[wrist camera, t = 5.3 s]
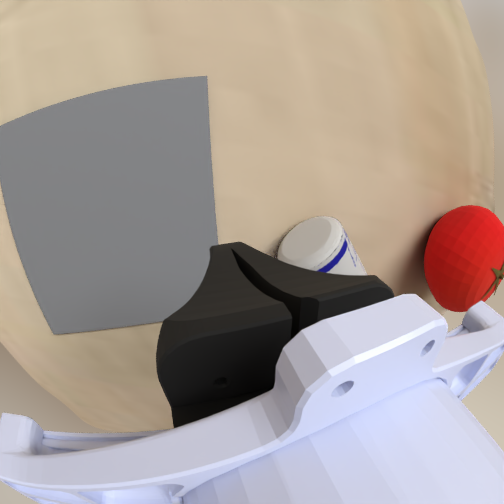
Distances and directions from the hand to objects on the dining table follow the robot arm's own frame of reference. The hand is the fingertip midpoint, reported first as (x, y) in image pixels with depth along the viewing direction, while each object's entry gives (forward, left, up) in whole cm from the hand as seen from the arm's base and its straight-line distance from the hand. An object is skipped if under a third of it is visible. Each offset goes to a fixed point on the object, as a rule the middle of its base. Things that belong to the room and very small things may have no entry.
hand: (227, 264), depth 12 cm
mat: (0, +8, -9) cm, 12 cm away
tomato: (-7, -29, -10) cm, 31 cm away
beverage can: (-2, -7, -7) cm, 10 cm away
